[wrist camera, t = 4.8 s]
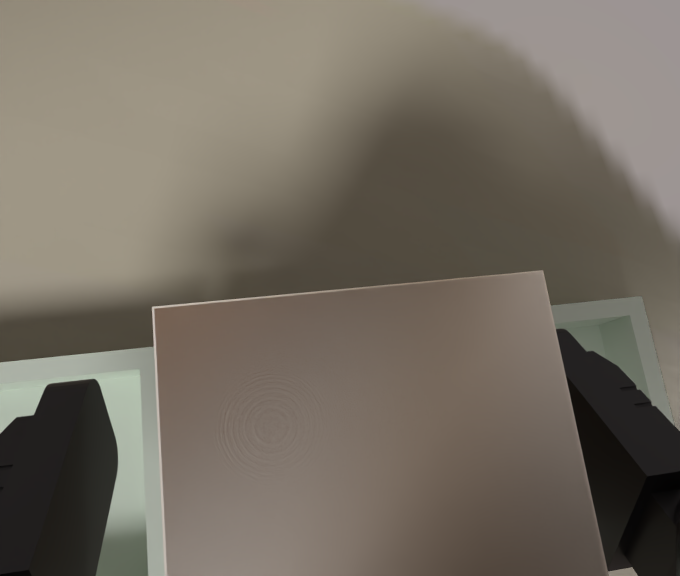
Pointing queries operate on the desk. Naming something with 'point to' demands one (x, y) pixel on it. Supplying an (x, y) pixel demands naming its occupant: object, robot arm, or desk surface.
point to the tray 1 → (131, 436)
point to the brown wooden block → (372, 434)
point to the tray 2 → (618, 340)
